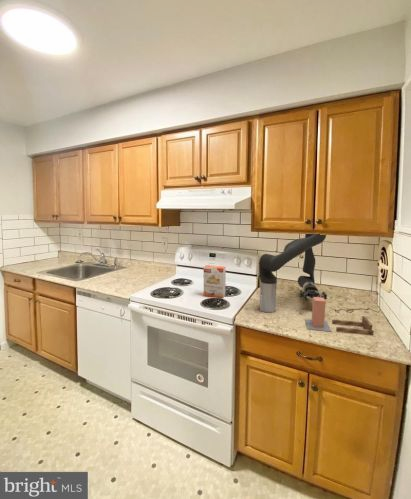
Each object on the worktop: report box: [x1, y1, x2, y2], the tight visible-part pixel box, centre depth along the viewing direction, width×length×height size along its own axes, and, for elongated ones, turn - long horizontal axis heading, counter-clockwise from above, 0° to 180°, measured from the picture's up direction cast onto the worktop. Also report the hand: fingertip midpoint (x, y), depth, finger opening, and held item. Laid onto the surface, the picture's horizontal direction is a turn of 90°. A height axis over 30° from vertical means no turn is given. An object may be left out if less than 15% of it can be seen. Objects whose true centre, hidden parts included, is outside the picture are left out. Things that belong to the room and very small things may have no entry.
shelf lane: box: [331, 316, 375, 336], centre depth 128 cm, size 16×9×5 cm, turn 77°
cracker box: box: [203, 264, 227, 299], centre depth 172 cm, size 14×6×21 cm, turn 69°
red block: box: [311, 297, 326, 328], centre depth 131 cm, size 5×5×14 cm
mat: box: [304, 318, 333, 333], centre depth 132 cm, size 11×11×1 cm
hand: (314, 299), depth 140 cm, fingers open, 8 cm apart
